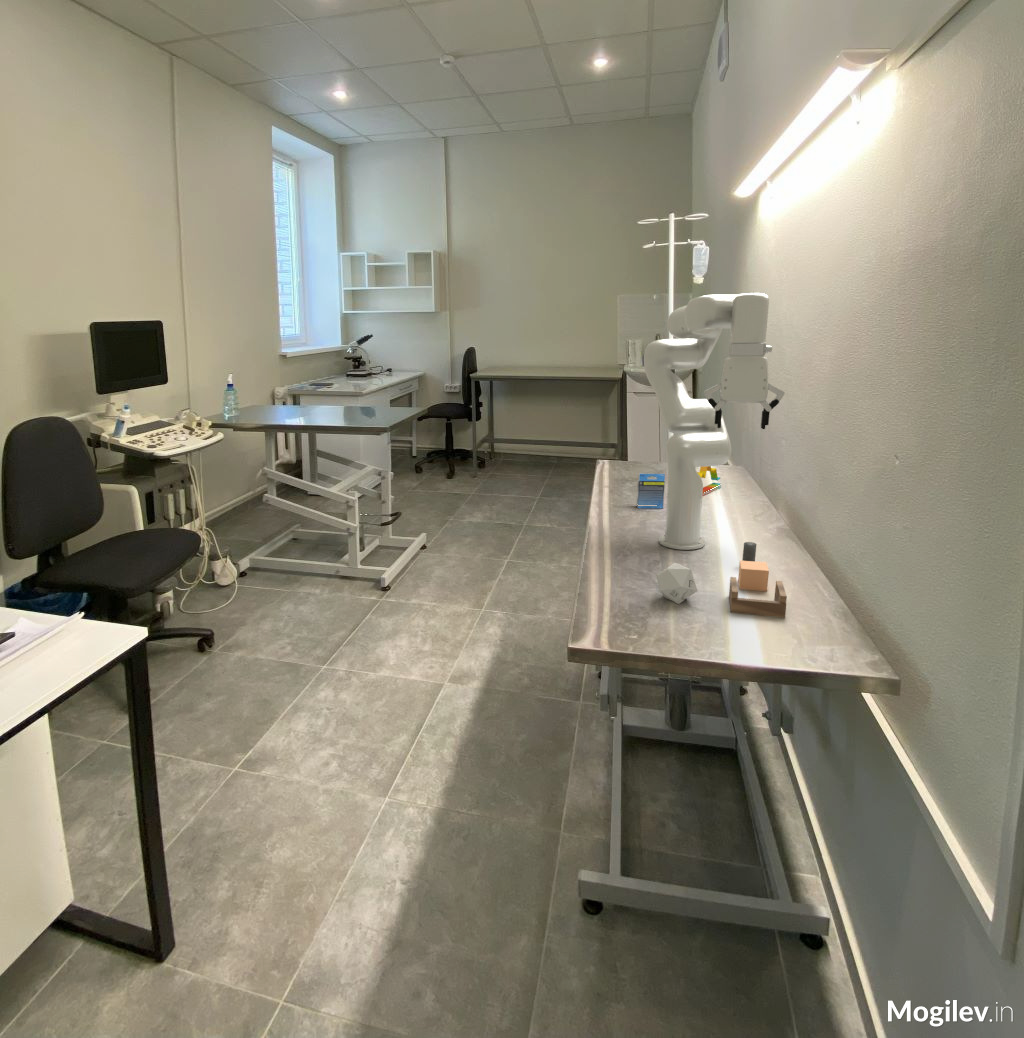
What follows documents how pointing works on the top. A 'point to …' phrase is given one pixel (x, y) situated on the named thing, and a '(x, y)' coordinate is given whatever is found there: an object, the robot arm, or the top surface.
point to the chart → (713, 477)
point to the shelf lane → (758, 602)
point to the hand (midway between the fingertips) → (740, 427)
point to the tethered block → (752, 570)
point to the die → (676, 583)
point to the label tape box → (651, 490)
